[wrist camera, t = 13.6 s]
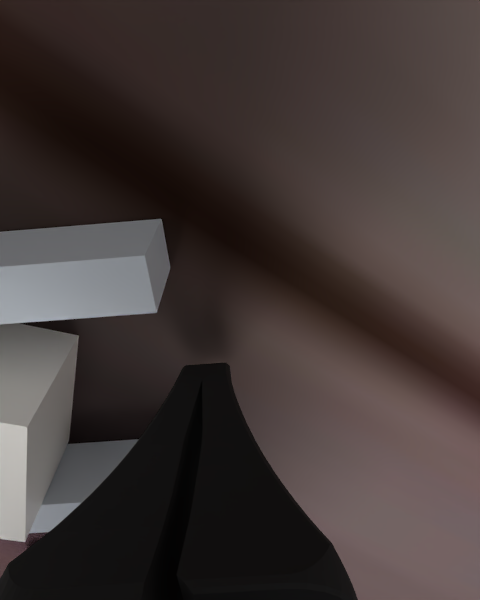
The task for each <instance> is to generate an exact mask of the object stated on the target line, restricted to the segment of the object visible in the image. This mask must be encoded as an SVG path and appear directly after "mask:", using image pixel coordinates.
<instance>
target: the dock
mask: <svg viewBox="0 0 480 600" xmlns="http://www.w3.org/2000/svg"><path fill="white" fill-rule="evenodd" d="M169 271H170V262H169V257H168V251H167V246H166V240H165V234H164V229H163V223H162V219H152V220H139V221H127V222H115V223H102V224H90V225H77V226H65V227H53V228H40V229H28V230H16V231H3V232H0V325H1V324H14V323H27V322H41V321H54V320H67V319H81V318H94V317H107V316H121V315H134V314H148V313H157V311H158V307H159V304H160V301H161V297H162V294H163V291H164V288H165V284H166V281H167V278H168V275H169ZM138 440H139V439H135V440H120V441H105V442H90V443H75V444H67V447H66V449H65V451H64V454H63V456H62V458H61V460H60V463H59V465H58V467H57V470H56V472H55V474H54V477H53V479H52V481H51V484H50V486H49V488H48V491H47V493H46V495H45V497H44V500H43V502H42V504H41V507H40V509H39V511H38V514H37V516H36V518H35V521H34V523H33V525H32V527H31V530H30V532H29V533H42V532H50V531H51V530H52V529H53V528H54V527H56V526H57V525H58V524H59V523H60V522H61V521H62V520H63V519H65V518H66V517H67V516H68V515H69V514H70V513H71V512H72V511H73V510H74V509H75V508H77V507H78V506H79V505H80V504H81V503H82V502H83V501H84V500H85V499H86V498H87V497H88V496H89V495H90V494H91V493H92V492H93V491H94V490H95V489H96V488H97V487H98V486H99V485H100V484H101V483H102V482H103V481H104V480H105V479H106V478H107V477H108V476H109V474H110V473H111V472H112V471H113V470H114V469H115V468H116V467H117V466H118V464H119V463H120V462H121V461H122V460H123V459H124V457H125V456H126V455H127V454H128V453H129V451H130V450H131V449H132V448H133V446H134V445H135V444H136V442H137V441H138Z"/></svg>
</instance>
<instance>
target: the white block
mask: <svg viewBox="0 0 480 600" xmlns="http://www.w3.org/2000/svg"><path fill="white" fill-rule="evenodd" d="M78 339H79V335H74V334H69V333H64V332H59V331H54V330H49V329H44V328H39V327H34V326H29V325H24V324H19V323H14V324H1V325H0V539H5V540H13V541H21V542H25V541H26V539H27V537H28V534H29V532H30V530H31V527H32V525H33V523H34V521H35V518H36V516H37V514H38V511H39V509H40V507H41V504H42V502H43V500H44V497H45V495H46V493H47V491H48V488H49V486H50V484H51V481H52V479H53V477H54V474H55V472H56V470H57V467H58V465H59V463H60V460H61V458H62V456H63V454H64V451H65V449H66V447H67V444H68V442H69V437H70V426H71V416H72V405H73V394H74V383H75V372H76V361H77V350H78Z"/></svg>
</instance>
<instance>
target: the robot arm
mask: <svg viewBox="0 0 480 600" xmlns="http://www.w3.org/2000/svg"><path fill="white" fill-rule="evenodd" d="M0 600H358V599H357V597H356V594H355V591H354V588H353V585H352V583H351V581H350V578H349V576H348V574H347V572H346V570H345V568H344V566H343V564H342V562H341V560H340V558H339V556H338V554H337V552H336V550H335V548H334V546H333V544H332V543H331V542H330V541H329V540H328V539H327V537H326V536H325V535H324V534H323V533H322V532H321V531H320V530H319V529H318V528H317V526H316V525H315V524H314V523H313V522H312V521H311V520H310V518H309V517H308V516H307V515H306V514H305V512H304V511H303V510H302V509H301V507H300V506H299V505H298V504H297V502H296V501H295V500H294V499H293V497H292V496H291V494H290V493H289V492H288V490H287V489H286V488H285V486H284V485H283V484H282V482H281V481H280V479H279V478H278V477H277V475H276V474H275V472H274V471H273V469H272V468H271V466H270V464H269V463H268V461H267V460H266V458H265V456H264V455H263V453H262V451H261V450H260V448H259V446H258V444H257V443H256V441H255V439H254V437H253V435H252V433H251V431H250V429H249V427H248V425H247V423H246V421H245V418H244V416H243V414H242V411H241V409H240V406H239V404H238V401H237V399H236V396H235V393H234V389H233V386H232V382H231V373H230V366H229V365H228V364H227V363H214V364H200V365H186V366H185V367H184V368H183V369H182V370H181V373H180V375H179V377H178V378H177V380H176V382H175V384H174V386H173V388H172V389H171V391H170V393H169V395H168V396H167V398H166V400H165V401H164V403H163V404H162V406H161V408H160V409H159V411H158V412H157V414H156V416H155V417H154V419H153V420H152V422H151V423H150V424H149V426H148V427H147V429H146V430H145V431H144V433H143V434H142V436H141V437H140V438H139V440H138V441H137V442H136V444H135V445H134V446H133V448H132V449H131V450H130V451H129V453H128V454H127V455H126V456H125V457H124V459H123V460H122V461H121V462H120V463H119V464H118V466H117V467H116V468H115V469H114V470H113V471H112V472H111V473H110V474H109V476H108V477H107V478H106V479H105V480H104V481H103V482H102V483H101V484H100V485H99V486H98V487H97V488H96V489H95V490H94V491H93V492H92V493H91V494H90V495H89V496H88V497H87V498H86V499H85V500H84V501H83V502H82V503H81V504H80V505H79V506H78V507H77V508H75V509H74V510H73V511H72V512H71V513H70V514H69V515H68V516H67V517H66V518H65V519H63V520H62V521H61V522H60V523H59V524H58V525H57V526H56V527H54V528H53V529H52V530H51V531H50V532H48V533H47V534H46V535H45V536H43V537H42V538H41V539H40V540H38V541H37V542H36V543H34V544H33V545H32V546H31V547H29V548H28V549H27V550H26V551H24V552H23V553H22V554H20V555H19V556H18V557H17V558H15V559H14V560H13V561H11V562H10V563H9V564H8V566H7V567H6V569H5V571H4V573H3V575H2V577H1V578H0Z"/></svg>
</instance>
